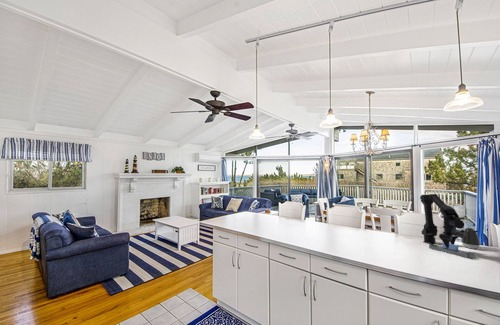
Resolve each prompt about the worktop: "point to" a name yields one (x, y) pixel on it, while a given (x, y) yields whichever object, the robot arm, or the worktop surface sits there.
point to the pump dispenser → (471, 239)
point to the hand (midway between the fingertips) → (450, 246)
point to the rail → (450, 251)
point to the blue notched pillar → (451, 247)
